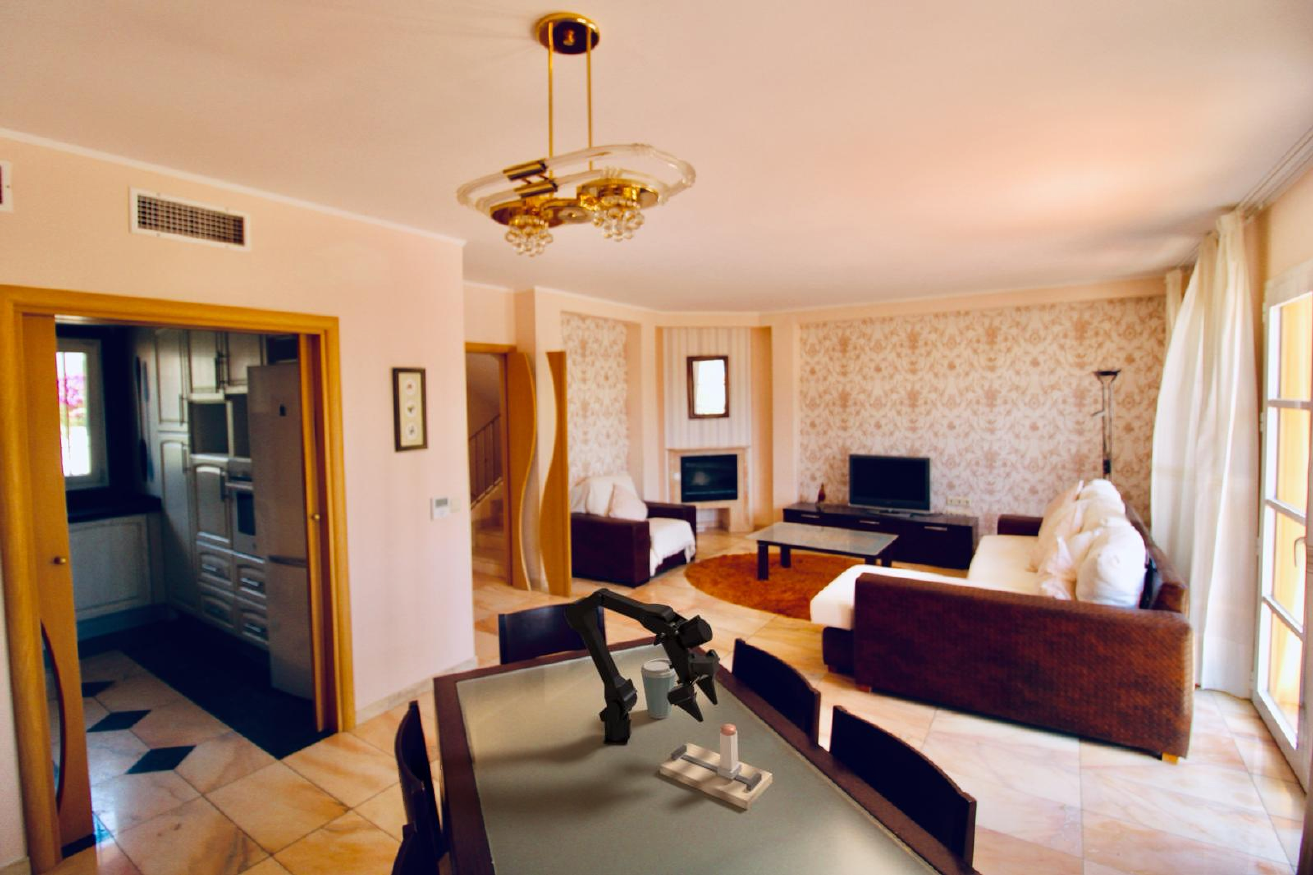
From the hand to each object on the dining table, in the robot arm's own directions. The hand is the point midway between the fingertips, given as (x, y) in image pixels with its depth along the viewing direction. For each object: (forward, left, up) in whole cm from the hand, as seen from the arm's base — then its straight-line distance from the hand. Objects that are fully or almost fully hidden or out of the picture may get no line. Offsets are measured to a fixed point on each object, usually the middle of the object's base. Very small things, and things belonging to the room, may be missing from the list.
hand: (709, 712), depth 154 cm
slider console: (+1, -6, -13) cm, 14 cm away
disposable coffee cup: (-15, +23, -13) cm, 31 cm away
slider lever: (+5, -8, -10) cm, 14 cm away
